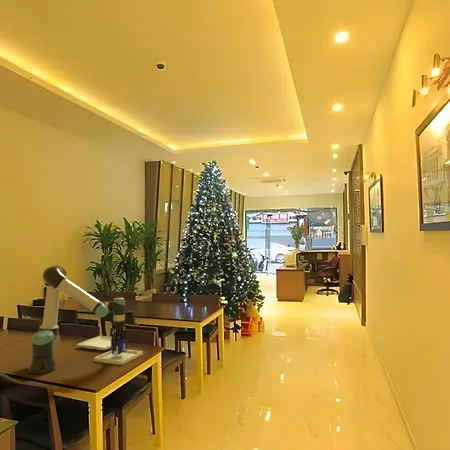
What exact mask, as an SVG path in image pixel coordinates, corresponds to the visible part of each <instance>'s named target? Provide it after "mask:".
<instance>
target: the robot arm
mask: <svg viewBox="0 0 450 450" xmlns="http://www.w3.org/2000/svg"><path fill="white" fill-rule="evenodd" d="M42 279H43V281H44V286H45V287H46V292H45V293H46V294H45V303H44V309H43V318H42V319H43V320H42V324H41V325H40V326H39V331H36V332H35V333H34V334H33V335H32V340H31V341H32V345H31V346H32V350H31V351H32V353H31V354H32V357H31V363H30V365H29V367H28V373H29V374H31V375H44V374H48V373H51V372H53V371H55V370H56V366H57V365H56V363H55V359H54V346H55V345H56V344H57V343H58V340H59V338H60V332H59V330H60V326H59V325H58V316H59V308H60V307H59V306H60V301H61V300H60V299H61V292H63V293H64V294H66V295H67V296H69V297H70V298H72V299H73V300H75V301H76V302H78V303H80V304H81V305H83V306H84V307H86V308H87V309H89V311H92V312H93V313H95V315H96V316H97V317H98V318H104V317H106V316H107V315H108V314H109V313H113V327H114V330H112V331H111V337H112V340H111V346H113V349H114V356H118V346H117V343H118V338H121V339H123V341H128V335H127V334H128V333H127V329H128V328H127V327H126V326H125V325H126V321H125V320H126V311H125V310H126V301H125V298H124V297H115V298H113V300H111V301H110V300H109V301H100V300H98V299H97V298H95V296H93V295H91V294H89V292H86V290H83V289H82V288H81V287H80V286H78V285H76V284H75V283H73V282H72V281H70V280H69V279H68V277H67V271H66V269H65V268H64V267H63V266H62V265H52V266H49V267H47V268H46V269H44V271H43V273H42ZM125 349H126V342H123V351H125ZM122 353H125V352H122Z"/></svg>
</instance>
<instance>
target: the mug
mask: <svg viewBox="0 0 450 450" xmlns="http://www.w3.org/2000/svg"><path fill="white" fill-rule="evenodd" d="M111 340H112V339H111ZM123 342H126V343H125V349H126V350H128V346H129V345H128V344H129V341H128V340H127V341H123V339H121V338H120V337H119V338H118V343H117V346H118V355H119V354H121V353H122V352H126V350H125V351H123ZM110 349H111V350H112V354H113V355H114V349H113V346H111V348H110Z"/></svg>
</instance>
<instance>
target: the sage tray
mask: <svg viewBox="0 0 450 450" xmlns="http://www.w3.org/2000/svg"><path fill="white" fill-rule="evenodd" d="M125 350H126V348H125ZM143 355H144V351H143V350H142V351H141V350H133V349H127V350H126V352H125V353H121V354H119V355H118V356H114V355H113V354H112V349H111V350H109V351H107V352H106V351H105V352H104V353H101V354H99V355H97V356H95V357H93V360H94V361H93V362H96V363H105V364H112V365H117V366H118V365H119V366H124V365H125V364H128V363H129V362H131V361H134V360H136V359H137V358H140V357H141V356H143Z"/></svg>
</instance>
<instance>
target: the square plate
mask: <svg viewBox="0 0 450 450" xmlns="http://www.w3.org/2000/svg"><path fill="white" fill-rule="evenodd" d="M111 339H112V336H105V335H99V336H95V337H92V338H90V339H86V340H84V341H81V342H79V343H76V346H77V347H79V348H83V349H88V350H95V349H96V350H97V351H107V350H110V349H111ZM96 350H95V351H96Z"/></svg>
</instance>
